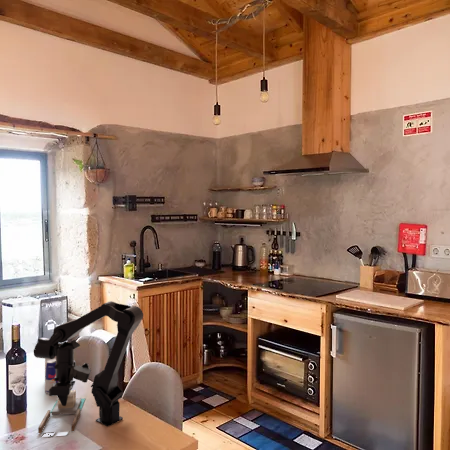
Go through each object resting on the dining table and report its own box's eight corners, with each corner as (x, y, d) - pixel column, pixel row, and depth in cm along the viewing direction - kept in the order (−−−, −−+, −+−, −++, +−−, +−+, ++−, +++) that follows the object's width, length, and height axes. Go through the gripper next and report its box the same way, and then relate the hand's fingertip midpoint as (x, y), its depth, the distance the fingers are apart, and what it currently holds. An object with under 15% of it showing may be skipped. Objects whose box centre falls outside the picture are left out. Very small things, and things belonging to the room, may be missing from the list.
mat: (80, 411, 146) (80, 410, 146) (50, 413, 145) (50, 412, 145) (85, 399, 156) (85, 398, 156) (56, 400, 154) (56, 399, 154)
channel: (72, 435, 130) (72, 429, 130) (36, 438, 128) (36, 431, 128) (80, 414, 144) (80, 408, 144) (47, 416, 143) (47, 410, 142)
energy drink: (50, 395, 159) (51, 363, 159) (42, 392, 162) (42, 361, 162) (63, 390, 163) (63, 359, 163) (54, 387, 166) (54, 357, 166)
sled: (76, 413, 144) (76, 398, 144) (51, 414, 142) (51, 400, 142) (81, 400, 153) (81, 387, 153) (58, 402, 152) (58, 388, 152)
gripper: (85, 368, 136) (84, 416, 136) (93, 350, 154) (92, 393, 154) (48, 370, 134) (48, 419, 134) (61, 351, 152) (60, 394, 152)
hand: (64, 405), depth 144 cm, fingers closed
